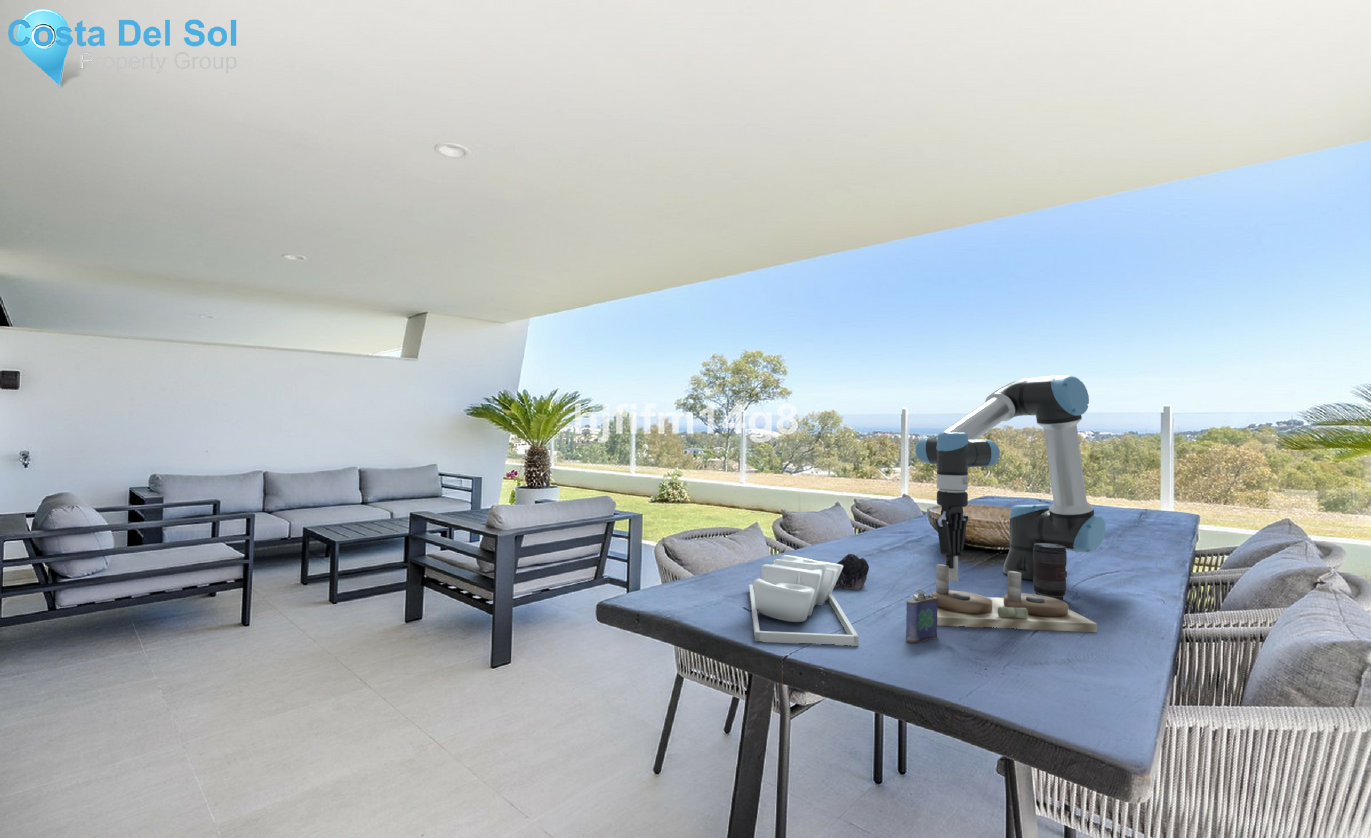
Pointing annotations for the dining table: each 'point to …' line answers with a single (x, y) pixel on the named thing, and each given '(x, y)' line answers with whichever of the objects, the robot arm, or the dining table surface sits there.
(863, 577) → the crystal cluster
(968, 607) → the dial
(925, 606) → the flask
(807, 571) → the wavy white extrusion
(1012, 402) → the robot arm
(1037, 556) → the camera lens
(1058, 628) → the base
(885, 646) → the dining table surface
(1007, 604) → the dial
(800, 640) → the white rectangular frame
